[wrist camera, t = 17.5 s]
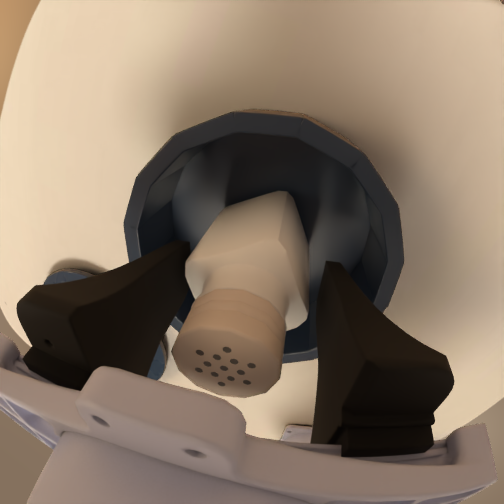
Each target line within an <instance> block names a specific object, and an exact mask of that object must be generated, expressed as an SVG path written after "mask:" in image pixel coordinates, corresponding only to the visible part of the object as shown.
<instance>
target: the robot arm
mask: <svg viewBox="0 0 504 504" xmlns="http://www.w3.org/2000/svg"><path fill="white" fill-rule="evenodd" d="M189 256H190V242H188V241H181V240H175V241H173V242H170V243H168V244H166V245H164V246H162V247H160V248H158V249H156V250H154V251H152V252H150V253H148V254H146V255H144V256H142V257H140V258H138V259H136V260H134V261H132V262H130V263H127V264H125V265H123V266H121V267H118V268H116V269H113V270H110V271H107V272H105V273H102V274H98V275H94V276H91V277H87V278H84V279H79V280H75V281H70V282H64V283H57V284H47V285H36V286H34V287H33V288H32V289H31V290H30V291H29V292H28V293H27V294H26V295H25V296H24V297H23V298H22V299H21V300H20V301H19V302H18V303H17V315H18V318H19V320H20V323H21V325H22V327H23V329H24V331H25V333H26V335H27V337H28V339H29V341H30V342H31V344H32V347H31V349H30V350H29V351H28V352H27V353H26V355H25V356H23V355H21V354H20V352H19V350H18V348H17V346H16V345H15V343H14V342H13V341H12V340H11V339H10V338H9V337H7V336H5V335H4V334H2V333H1V332H0V410H2V411H3V412H4V413H5V414H7V415H8V416H9V417H10V418H11V419H13V420H14V421H15V422H16V423H18V424H19V425H20V426H21V427H23V428H24V429H25V430H27V431H28V432H29V433H31V434H32V435H34V436H35V437H36V438H38V439H39V440H40V441H42V442H43V443H44V444H46V445H47V446H49V447H50V448H52V449H53V452H52V454H51V456H50V458H49V460H48V461H47V463H46V465H45V467H44V469H43V471H42V473H41V475H40V477H39V479H38V481H37V483H36V485H35V486H34V489H33V490H32V493H31V495H30V497H29V499H28V501H27V503H26V504H457V503H459V502H461V501H463V500H465V499H467V498H469V497H471V496H473V495H474V494H476V493H478V492H479V491H481V490H483V489H485V488H487V487H488V486H490V485H491V484H493V483H495V482H496V481H497V473H496V468H495V463H494V458H493V454H492V449H491V445H490V441H489V437H488V433H487V429H486V426H485V423H480V424H475V425H469V426H464V427H460V428H458V429H456V430H455V431H453V432H452V433H451V434H450V435H449V436H448V437H447V438H446V439H444V440H437V441H434V439H433V434H432V428H431V425H433V424H434V423H435V418H434V413H433V412H434V411H435V410H436V409H437V408H438V407H439V406H440V405H441V403H442V402H443V401H444V400H445V399H446V398H447V396H448V395H449V393H450V392H451V390H452V388H453V385H454V376H453V374H452V371H451V368H450V365H449V362H448V359H447V357H446V356H445V355H443V354H442V353H440V352H438V351H436V350H434V349H432V348H430V347H428V346H426V345H424V344H423V343H421V342H419V341H418V340H416V339H415V338H413V337H412V336H410V335H409V334H407V333H406V332H404V331H403V330H402V329H400V328H399V327H398V326H397V325H395V324H394V323H393V322H392V321H390V320H389V319H388V318H387V317H386V316H385V315H384V314H383V313H382V312H381V311H380V310H378V309H377V308H376V307H375V305H374V304H373V303H372V302H371V301H370V300H369V299H368V298H367V297H366V296H365V294H364V293H363V292H362V291H361V290H360V288H359V287H358V286H357V284H356V283H355V282H354V281H353V279H352V278H351V276H350V275H349V274H348V272H347V271H346V270H345V268H344V267H343V265H342V264H341V263H340V262H334V261H326V262H325V266H324V271H323V275H322V280H321V284H320V288H319V293H318V297H317V304H316V334H317V350H318V382H317V394H316V404H315V413H314V421H313V427H308V426H297V425H287V426H286V427H285V430H284V432H283V435H282V438H281V440H272V439H265V438H258V437H255V436H252V435H248V434H246V433H245V431H246V421H245V419H244V417H243V415H242V412H241V411H240V410H239V409H237V408H236V407H234V406H233V405H231V404H230V403H229V402H227V401H226V400H224V399H221V398H218V397H215V396H213V395H210V394H207V393H204V392H200V391H195V390H191V389H187V388H183V387H179V386H175V385H172V384H168V383H164V382H161V381H157V380H154V379H150V378H147V375H148V372H149V370H150V367H151V364H152V362H153V359H154V356H155V354H156V352H157V349H158V347H159V344H160V342H161V340H162V338H163V336H164V334H165V333H166V331H167V329H168V327H169V326H170V324H171V322H172V321H173V319H174V317H175V315H176V314H177V312H178V310H179V308H180V307H181V305H182V303H183V301H184V300H185V297H186V295H187V292H188V290H189V284H188V282H187V279H186V277H185V263H186V260H187V259H188V258H189Z"/></svg>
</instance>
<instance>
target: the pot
mask: <svg viewBox="0 0 504 504" xmlns="http://www.w3.org/2000/svg"><path fill="white" fill-rule="evenodd" d="M275 191H288V193H289V194H290V195H291V196H292V197H293V198H294V201H295V204H296V207H297V210H298V213H299V216H300V219H301V222H302V225H303V228H304V232H305V235H306V238H307V241H308V244H309V313H308V317H307V319H306V321H304V322H303V323H302V324H301V325H299V326H298V327H297V328H294V329H291V330H288V331H286V336H285V344H284V352H283V358H282V364H283V363H292V362H300V361H307V360H314V359H316V358H318V350H317V334H316V304H317V297H318V293H319V288H320V284H321V280H322V275H323V271H324V266H325V262H326V261H334V262H340V263H341V264H342V265H343V267H344V268H345V270H346V271H347V272H348V274H349V275H350V276H351V278H352V279H353V281H354V282H355V283H356V284H357V286H358V287H359V288H360V290H361V291H362V292H363V293H364V294H365V296H366V297H367V298H368V299H369V300H370V301H371V302H372V303H373V304H374V305H375V307H376V308H377V309H378V310H380V311H381V312H382V313H383V311H384V310H385V309H386V308H387V307H388V305H389V302H390V300H391V297H392V295H393V292H394V290H395V287H396V284H397V281H398V279H399V276H400V273H401V270H402V267H403V265H404V248H403V238H402V228H401V220H400V212H399V207H398V204H397V202H396V201H395V199H394V198H393V196H392V194H391V193H390V191H389V189H388V188H387V186H386V185H385V183H384V182H383V180H382V178H381V177H380V175H379V174H378V172H377V171H376V169H375V168H374V166H373V165H372V163H371V162H370V161H369V159H368V158H367V156H366V155H365V154H364V153H363V152H362V151H361V150H360V149H359V148H358V147H356V146H355V145H354V144H353V143H352V142H351V141H350V140H348V139H347V138H345V137H344V136H342V135H340V134H339V133H337V132H335V131H334V130H332V129H330V128H329V127H327V126H325V125H323V124H321V123H320V122H318V121H316V120H314V119H313V118H311V117H309V116H307V115H305V114H304V115H303V114H302V113H293V112H284V111H273V110H261V109H248V110H241V111H234V112H230V113H227V114H224V115H222V116H219V117H216V118H214V119H211V120H208V121H206V122H203V123H201V124H198V125H196V126H193V127H191V128H188V129H186V130H183V131H181V132H179V133H176V134H175V135H174V136H172V137H171V138H170V139H169V140H168V141H167V142H166V144H165V145H164V146H163V147H162V148H161V149H160V150H159V151H158V152H157V153H156V154H155V156H154V157H153V158H152V159H151V160H150V161H149V162H148V163H147V165H146V166H145V167H144V168H143V169H142V170H141V172H140V173H139V174H138V176H137V177H136V179H135V183H134V186H133V190H132V193H131V197H130V200H129V204H128V208H127V211H126V215H125V219H124V232H125V239H126V246H127V252H128V258H129V263H130V262H132V261H134V260H136V259H138V258H140V257H142V256H144V255H146V254H148V253H150V252H152V251H154V250H156V249H158V248H160V247H162V246H164V245H166V244H168V243H170V242H173V241H175V240H181V241H188V242H190V255H191V253H192V252H193V250H194V249H195V247H196V246H197V244H198V243H199V242H200V240H201V239H202V237H203V236H204V234H205V233H206V232H207V230H208V229H209V227H210V226H211V225H212V223H213V222H214V220H215V219H216V218H217V216H218V215H219V213H220V212H221V211H222V210H223V209H224V208H225V207H227V206H230V205H233V204H236V203H239V202H242V201H245V200H249V199H252V198H255V197H258V196H262V195H265V194H268V193H272V192H275ZM194 301H195V298H194V296H193V294H192V292H191V289H190V287H189V290H188V292H187V295H186V297H185V300H184V301H183V303H182V305H181V307H180V308H179V310H178V312H177V314H176V315H175V317H174V319H173V321H172V322H171V324H170V325H171V326H172V327H174V328H175V329H176V330H177V331H178V332H180V330H181V328H182V326H183V324H184V322H185V320H186V318H187V316H188V314H189V312H190V310H191V306H192V304H193V303H194Z"/></svg>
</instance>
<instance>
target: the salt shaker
mask: <svg viewBox="0 0 504 504" xmlns="http://www.w3.org/2000/svg"><path fill="white" fill-rule="evenodd" d="M185 277H186V279H187V282H188V284H189V287H190V289H191V292H192V294H193V296H194V298H195V301H194V303H193V304H192V306H191V310H190V312H189V314H188V316H187V318H186V320H185V322H184V324H183V326H182V328H181V330H180V332H179V334H178V336H177V339H176V341H175V343H174V346H173V348H172V351H171V352H172V355H173V357H174V360H175V362H176V365H177V367H178V369H179V371H180V372H181V373H182V374H184V375H185V376H186V377H187V378H188V379H189V380H190V381H192V382H193V383H194V384H195V385H196V386H199V387H201V388H203V389H206V390H208V391H210V392H213V393H215V394H218V395H221V396H230V397H240V398H247V397H251V396H255V395H259V394H263V393H266V392H267V391H268V390H269V389H270V388H271V387H272V386H273V385H274V384H275V383H276V382H277V381H278V380H279V379H280V375H281V368H282V358H283V352H284V344H285V336H286V331H288V330H291V329H294V328H297V327H298V326H299V325H301V324H302V323H303V322H304V321H306V319H307V317H308V313H309V244H308V241H307V238H306V235H305V232H304V228H303V225H302V222H301V219H300V216H299V213H298V210H297V207H296V204H295V201H294V198H293V197H292V196H291V195H290V194H289V193H288V191H275V192H272V193H268V194H265V195H262V196H258V197H255V198H252V199H249V200H245V201H242V202H239V203H236V204H233V205H230V206H227V207H225V208H224V209H223V210H222V211H221V212H220V213H219V215H218V216H217V218H216V219H215V220H214V222H213V223H212V225H211V226H210V227H209V229H208V230H207V232H206V233H205V234H204V236H203V237H202V239H201V240H200V242H199V243H198V244H197V246H196V247H195V249H194V250H193V252H192V253H191V255H190V256H189V258H188V259H187V260H186V263H185Z"/></svg>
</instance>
